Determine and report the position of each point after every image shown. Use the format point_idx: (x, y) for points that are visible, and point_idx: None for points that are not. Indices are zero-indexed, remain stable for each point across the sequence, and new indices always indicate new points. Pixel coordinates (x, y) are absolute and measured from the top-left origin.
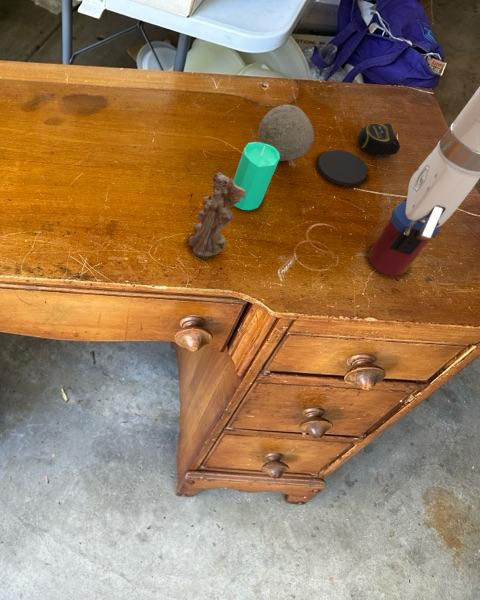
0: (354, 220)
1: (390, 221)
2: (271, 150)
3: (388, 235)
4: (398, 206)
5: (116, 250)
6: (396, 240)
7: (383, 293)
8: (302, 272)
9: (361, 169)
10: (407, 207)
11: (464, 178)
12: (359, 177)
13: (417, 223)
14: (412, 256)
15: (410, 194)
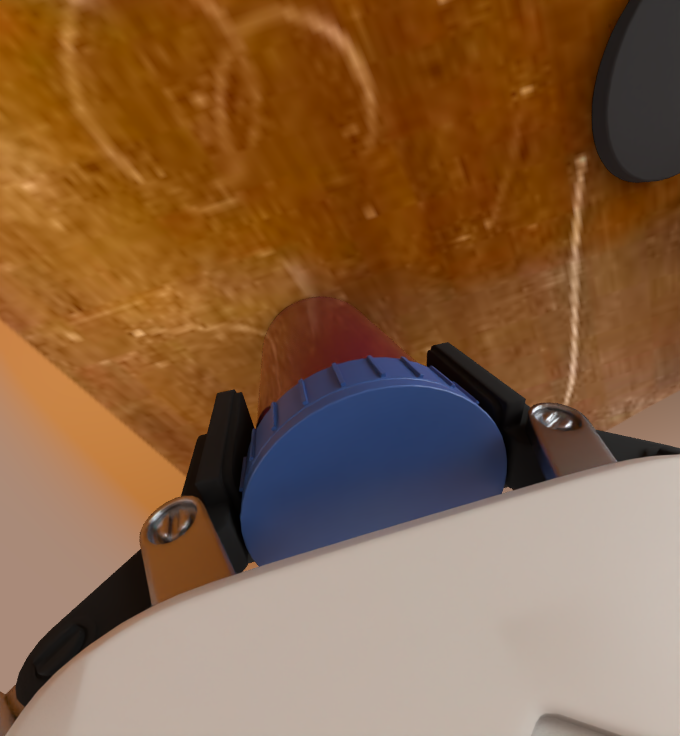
0: (438, 207)
1: (335, 360)
2: None
3: (285, 365)
4: (410, 395)
5: None
6: (209, 430)
7: (192, 380)
8: (24, 66)
9: (675, 153)
10: (217, 636)
11: None
12: (637, 157)
13: (314, 525)
14: None
15: (448, 630)
